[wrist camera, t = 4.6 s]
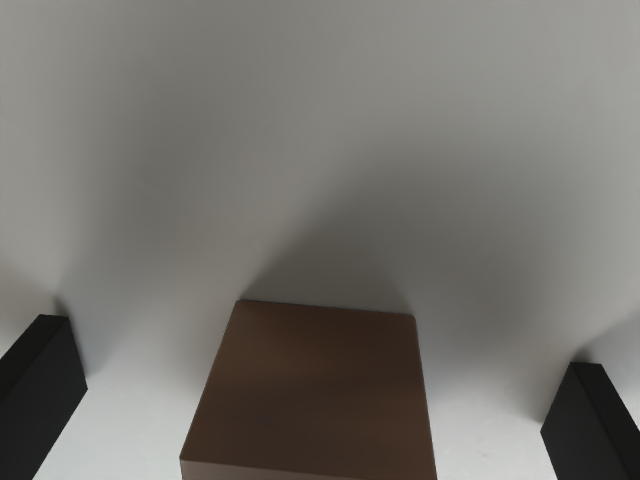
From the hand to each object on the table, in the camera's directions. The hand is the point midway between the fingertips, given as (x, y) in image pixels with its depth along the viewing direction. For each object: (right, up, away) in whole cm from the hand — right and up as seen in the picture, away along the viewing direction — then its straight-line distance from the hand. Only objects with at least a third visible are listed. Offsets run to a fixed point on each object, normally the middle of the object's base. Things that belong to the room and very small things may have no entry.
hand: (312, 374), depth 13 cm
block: (0, 0, 0) cm, 0 cm away
